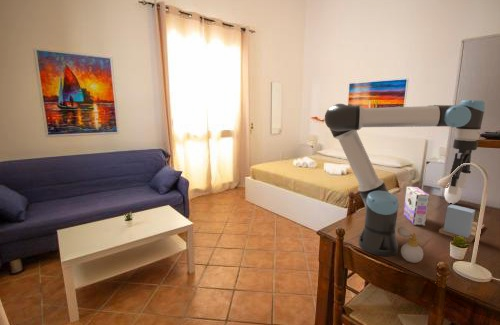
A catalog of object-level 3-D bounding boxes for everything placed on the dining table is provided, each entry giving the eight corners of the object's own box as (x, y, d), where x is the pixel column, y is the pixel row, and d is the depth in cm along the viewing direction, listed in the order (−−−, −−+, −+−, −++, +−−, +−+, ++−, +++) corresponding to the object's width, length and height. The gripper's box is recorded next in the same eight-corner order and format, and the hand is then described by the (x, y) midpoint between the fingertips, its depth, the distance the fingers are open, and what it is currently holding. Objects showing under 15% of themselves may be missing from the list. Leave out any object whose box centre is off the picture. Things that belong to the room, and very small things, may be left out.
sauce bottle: (449, 205, 154) (453, 176, 151) (440, 201, 162) (444, 173, 158) (462, 205, 154) (467, 176, 150) (452, 201, 162) (457, 173, 158)
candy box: (425, 226, 129) (430, 195, 126) (412, 225, 130) (416, 194, 127) (414, 214, 142) (418, 186, 139) (402, 214, 143) (406, 185, 140)
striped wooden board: (470, 242, 113) (471, 240, 113) (438, 232, 123) (439, 230, 122) (484, 226, 128) (484, 224, 127) (454, 218, 137) (454, 216, 137)
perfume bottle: (420, 268, 96) (424, 239, 93) (391, 259, 102) (394, 231, 99) (423, 259, 101) (427, 231, 99) (395, 251, 108) (399, 224, 105)
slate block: (467, 238, 115) (472, 212, 112) (443, 230, 122) (447, 206, 119) (470, 234, 118) (475, 210, 115) (447, 227, 125) (450, 204, 122)
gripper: (470, 143, 93) (459, 199, 98) (485, 137, 108) (475, 186, 113) (445, 141, 99) (436, 194, 104) (462, 136, 114) (454, 183, 119)
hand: (456, 190), depth 108 cm, fingers open, 12 cm apart
